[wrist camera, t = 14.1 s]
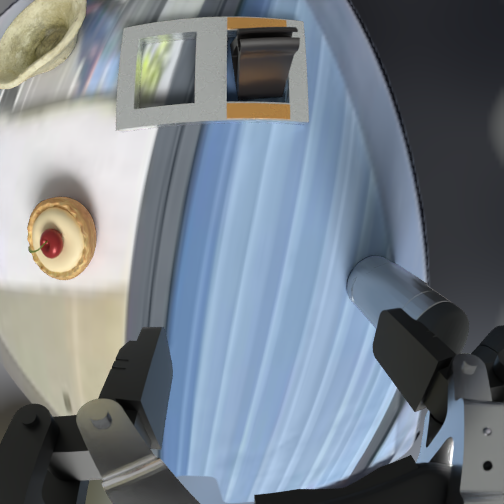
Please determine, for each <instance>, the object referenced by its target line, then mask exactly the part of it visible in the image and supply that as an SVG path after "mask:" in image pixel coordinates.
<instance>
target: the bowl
mask: <svg viewBox="0 0 504 504" xmlns="http://www.w3.org/2000/svg"><path fill="white" fill-rule="evenodd" d="M86 2H87V0H35V1H33V2H32V3H31V4H30V5H29V6H27V7H26V8H25V9H24V10H23V11H22V12H21V13H20V14H19V15H18V16H17V17H16V18H15V19H14V21H13V22H12V23H11V24H10V26H9V27H8V28H7V30H6V32H5V33H4V35H3V37H2V39H1V41H0V89H10V88H14V87H15V86H18V85H19V84H21V83H22V82H24V81H26V80H27V79H29V78H31V77H34V76H35V75H38V74H42V73H45V72H48V71H50V70H52V69H54V68H55V67H57V66H58V65H60V64H61V63H63V62H64V61H65V60H66V59H67V58H68V56H69V55H70V54H71V52H72V50H73V49H74V47H75V44H76V42H77V34H78V31H79V29H80V27H81V25H82V23H83V21H84V18H85V16H86V4H87V3H86Z"/></svg>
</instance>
